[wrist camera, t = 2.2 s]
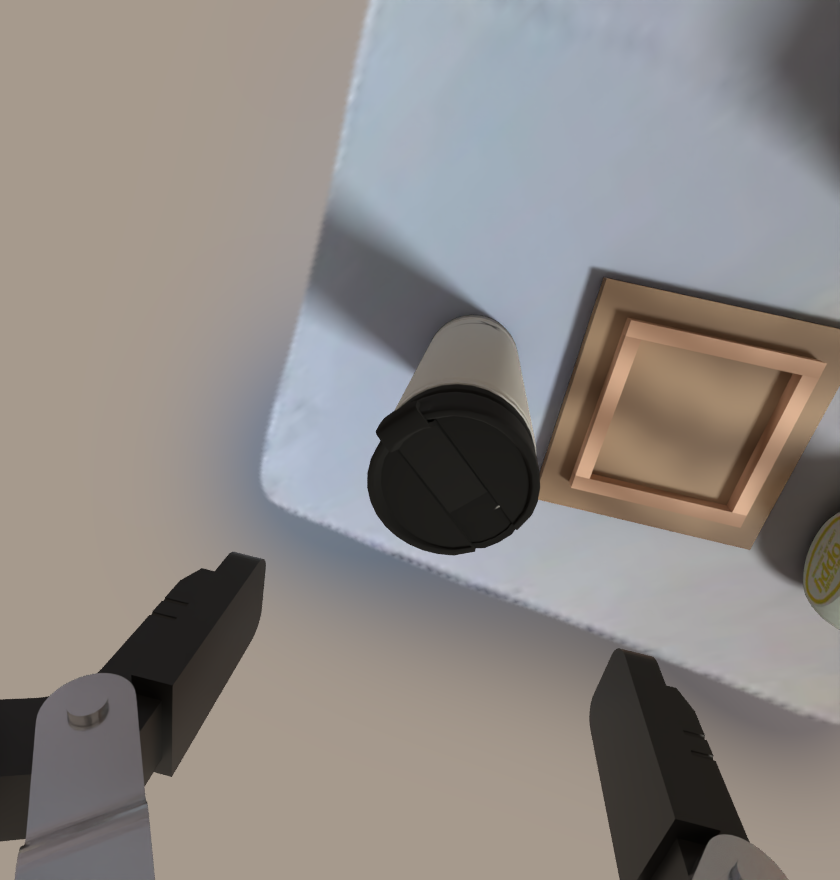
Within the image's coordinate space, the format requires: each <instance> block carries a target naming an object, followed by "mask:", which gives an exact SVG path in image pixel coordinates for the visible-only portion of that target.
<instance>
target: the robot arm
mask: <svg viewBox="0 0 840 880" xmlns="http://www.w3.org/2000/svg"><path fill="white" fill-rule="evenodd" d="M265 569H266V563H265V560H264V559H261V558H257V557H252V556H249V555H245V554H241V553H237V552H231V553H230V554H229V555H228V556H227V557H226V558H225V559H224V561H223V562H222V563H221V565H220V566H219V567H218V568H217V569H216V571H210V570H207V569H202V568H201V569H200V570H198V571H197V572H195V573H193V574H191V575H189V576H187V577H186V578H184V579H182V580H180V581H179V582H178V584H177V585H176V586H175V587H174V588H173V589H172V590H171V591H170V593H169V594H168V595H167V596H166V597H165V600H164V601H161V603H160V604H159V605H158V606H157V607H156V608H155V609H154V611H153V612H152V615H149V616H148V617H147V618H146V619H145V621H144V622H143V623H142V624H141V625H140V626H139V628H138V629H137V630H136V631H135V632H134V633H133V634H132V635H131V636H130V638H129V639H128V640H127V641H126V642H125V643H124V644H123V645H122V647H121V648H120V649H119V650H118V651H117V652H116V653H115V655H114V656H113V657H112V658H111V659H110V660H109V661H108V663H106V665H105V666H104V667H103V668H102V669H101V670H100V671H99V672H98V673H96V674H91V675H86V676H83V677H79V678H77V679H75V680H72V681H70V682H68V683H66V684H65V685H63V686H61V687H60V688H59V689H57V690H56V691H55V692H54V693H52V694H51V695H50V696H48V697H43V698H27V699H5V700H4V699H3V700H0V841H9V840H18V839H26V840H25V845H24V846H21V847H20V850H19V853H18V858H17V864H16V872H15V880H155V875H154V864H153V854H152V843H151V833H150V822H149V812H148V805H147V802H146V798H145V788H144V787H145V785H146V783H147V782H148V780H149V779H150V777H151V775H152V774H153V772H156V773H160V774H163V775H167V776H171V777H172V775H173V774H174V772H175V770H176V769H177V767H178V765H179V764H180V762H181V760H182V758H183V756H184V755H185V753H186V752H187V750H188V748H189V747H190V745H191V743H192V741H193V740H194V738H195V736H196V735H197V733H198V731H199V729H200V728H201V726H202V724H203V723H204V721H205V719H206V717H207V716H208V714H209V712H210V711H211V709H212V707H213V705H214V704H215V702H216V700H217V698H218V697H219V695H220V694H221V692H222V690H223V688H224V687H225V685H226V683H227V682H228V680H229V678H230V676H231V675H232V673H233V671H234V670H235V668H236V666H237V664H238V663H239V661H240V659H241V658H242V656H243V654H244V653H245V651H246V649H247V647H248V646H249V644H250V642H251V641H252V639H253V636H254V635H255V632H256V629H257V627H258V624H259V620H260V616H261V611H262V600H263V589H264V579H265ZM589 717H590V729H591V735H592V740H593V745H594V750H595V755H596V760H597V765H598V771H599V776H600V781H601V786H602V791H603V796H604V801H605V806H606V812H607V816H608V822H609V827H610V832H611V837H612V842H613V847H614V852H615V857H616V862H617V868H618V873H619V878H620V880H788V878H787V877H786V876H785V874H784V873H783V872H782V870H780V868H779V867H778V866H777V864H776V863H775V862H774V861H772V859H771V858H770V857H768V856H767V855H766V854H765V853H764V852H763V851H761V850H760V849H759V848H757V847H756V846H754V845H753V844H751V843H750V842H749V840H748V838H747V835H746V833H745V830H744V828H743V826H742V823H741V821H740V818H739V816H738V814H737V811H736V809H735V807H734V804H733V802H732V799H731V797H730V795H729V792H728V790H727V788H726V785H725V783H724V780H723V778H722V776H721V773H720V771H719V769H718V766H717V764H716V761H713V754H712V751H711V749H710V747H709V744H708V742H707V740H705V739H704V737H705V735H704V733H703V730H702V728H701V725H700V723H699V720H698V718H697V716H696V713H695V711H694V710H693V709H692V707H691V706H690V705H689V704H688V702H687V701H686V700H685V698H684V697H683V696H682V695H681V693H680V692H679V691H678V690H677V688H674V687H670V686H666V684H665V682H664V679H663V676H662V673H661V671H660V668H659V666H658V663H657V661H656V660H655V658H654V657H652V656H648V655H644V654H640V653H636V652H632V651H627V650H624V649H620V648H618V649H616V650H615V651H614V652H613V654H612V656H611V658H610V660H609V662H608V665H607V667H606V669H605V671H604V673H603V675H602V678H601V680H600V682H599V684H598V686H597V689H596V691H595V693H594V696H593V698H592V701H591V706H590V716H589Z"/></svg>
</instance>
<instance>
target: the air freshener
mask: <svg viewBox="0 0 840 880" xmlns="http://www.w3.org/2000/svg"><path fill="white" fill-rule="evenodd" d="M803 587H804V592H805V595H806V597H807V599H808V601H809V603H810V604H811V606H812V607H813V608H814V610H815V611H816V612H817V613H818V614H819V615H820V616H821V617H822V618H823V619H824V620H826V621H827V622H828V623H830V624H831V625H832V626H834V627H835V628H837V629H839V630H840V512H838V513H837V514H835V515H834V516H833V517H831V518H830V519H829V520H828V521H827V522H826V523H825V524H824V525H823V526H822V527H821V529H820V530H819V532H818V533H817V535H816V536H815V538H814V540H813V542H812V544H811V546H810V549H809V551H808V554H807V557H806V561H805V566H804V572H803Z"/></svg>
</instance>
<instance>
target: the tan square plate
mask: <svg viewBox="0 0 840 880" xmlns="http://www.w3.org/2000/svg"><path fill="white" fill-rule="evenodd" d="M839 386H840V329H839V328H835V327H830V326H826V325H821V324H816V323H812V322H807V321H803V320H798V319H794V318H789V317H784V316H780V315H775V314H771V313H766V312H762V311H757V310H752V309H748V308H743V307H739V306H734V305H730V304H725V303H720V302H716V301H711V300H707V299H702V298H698V297H693V296H688V295H684V294H679V293H675V292H670V291H666V290H661V289H656V288H652V287H647V286H643V285H638V284H634V283H629V282H624V281H620V280H615V279H611V278H606V277H604V278H603V281H602V284H601V287H600V290H599V293H598V296H597V299H596V302H595V305H594V308H593V311H592V314H591V317H590V320H589V324H588V327H587V330H586V333H585V336H584V339H583V342H582V345H581V348H580V351H579V354H578V357H577V360H576V363H575V366H574V369H573V372H572V376H571V379H570V382H569V385H568V388H567V391H566V394H565V397H564V400H563V403H562V406H561V409H560V412H559V415H558V418H557V421H556V424H555V428H554V431H553V434H552V437H551V440H550V443H549V446H548V449H547V452H546V455H545V458H544V461H543V464H542V467H541V470H540V492H539V497H538V500H542V501H547V502H551V503H555V504H559V505H563V506H568V507H572V508H576V509H580V510H585V511H589V512H593V513H597V514H601V515H606V516H610V517H614V518H618V519H622V520H627V521H631V522H635V523H639V524H643V525H648V526H652V527H656V528H660V529H664V530H669V531H673V532H677V533H681V534H685V535H690V536H694V537H698V538H702V539H706V540H711V541H715V542H719V543H723V544H727V545H732V546H736V547H740V548H744V549H748V550H750V549H751V547H752V545H753V543H754V541H755V539H756V538H757V536H758V534H759V532H760V530H761V528H762V527H763V525H764V523H765V521H766V519H767V517H768V516H769V514H770V512H771V510H772V508H773V507H774V505H775V503H776V501H777V499H778V497H779V496H780V494H781V492H782V490H783V488H784V486H785V485H786V483H787V481H788V479H789V477H790V475H791V474H792V472H793V470H794V468H795V466H796V464H797V463H798V461H799V459H800V457H801V455H802V453H803V452H804V450H805V448H806V446H807V444H808V442H809V441H810V439H811V437H812V435H813V433H814V432H815V430H816V428H817V426H818V424H819V422H820V421H821V419H822V417H823V415H824V413H825V411H826V410H827V408H828V406H829V404H830V402H831V400H832V399H833V397H834V395H835V393H836V391H837V389H838V388H839Z"/></svg>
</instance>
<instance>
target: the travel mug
mask: <svg viewBox="0 0 840 880" xmlns="http://www.w3.org/2000/svg"><path fill="white" fill-rule="evenodd" d="M376 434H377V436H378V437H379V439H380V440H381V441H380V443H379V445H378V446H377V448H376V450H375V452H374V454H373V456H372V458H371V461H370V465H369V469H368V478H367V488H368V492H369V497H370V501H371V503H372V506H373V508H374V510H375V512H376V514H377V516H378V517H379V518H380V520H381V521H382V522H383V524H384V525H385V526H386V527H387V528H388V529H389V530H390V531H391V532H392V533H393V534H394V535H396V536H397V537H398V538H400V539H402V540H403V541H405V542H406V543H408V544H410V545H412V546H414V547H417V548H419V549H421V550H424V551H428V552H432V553H436V554H444V555H459V554H464V553H470V552H475V548H486V547H488V546H491V545H493V544H496V543H498V542H500V541H502V540H503V539H505V538H506V537H508V536H510V535H511V534H512V533H513V532H514V530H515V529H516V530H518V529H519V528H520V527H521V526H522V525H523V524H524V523H525V521H526V520H527V519H528V518H529V517H530V516H531V515H532V513H533V511H534V509H535V507H536V504H537V502H538V497H539V492H540V472H539V467H538V462H537V456H536V443H535V439H534V433H533V428H532V423H531V418H530V413H529V408H528V403H527V398H526V393H525V388H524V383H523V377H522V372H521V367H520V362H519V357H518V352H517V348H516V345H515V342H514V340H513V338H512V336H511V335H510V333H509V332H508V331H507V330H506V328H504V327H503V326H502V325H501V324H500V323H498V322H496V321H494V320H493V319H491V318H488V317H484V316H479V315H467V316H462V317H458V318H455V319H453V320H451V321H450V322H448V323H446V324H445V325H444V326H443V327H442V328H440V329H439V331H438V332H437V333H436V334H435V336H434V337H433V339H432V341H431V343H430V345H429V347H428V349H427V351H426V352H425V354H424V356H423V358H422V360H421V362H420V364H419V366H418V368H417V369H416V371H415V373H414V375H413V377H412V379H411V381H410V383H409V384H408V386H407V388H406V390H405V392H404V394H403V396H402V398H401V399H400V401H399V403H398V405H397V407H396V409H395V411H394V412H392V413H391V414H389V415H388V416H387V417H385V418H384V419H383V420H382V422H381V423H380V425H379V426H378V428H377V430H376Z"/></svg>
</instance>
